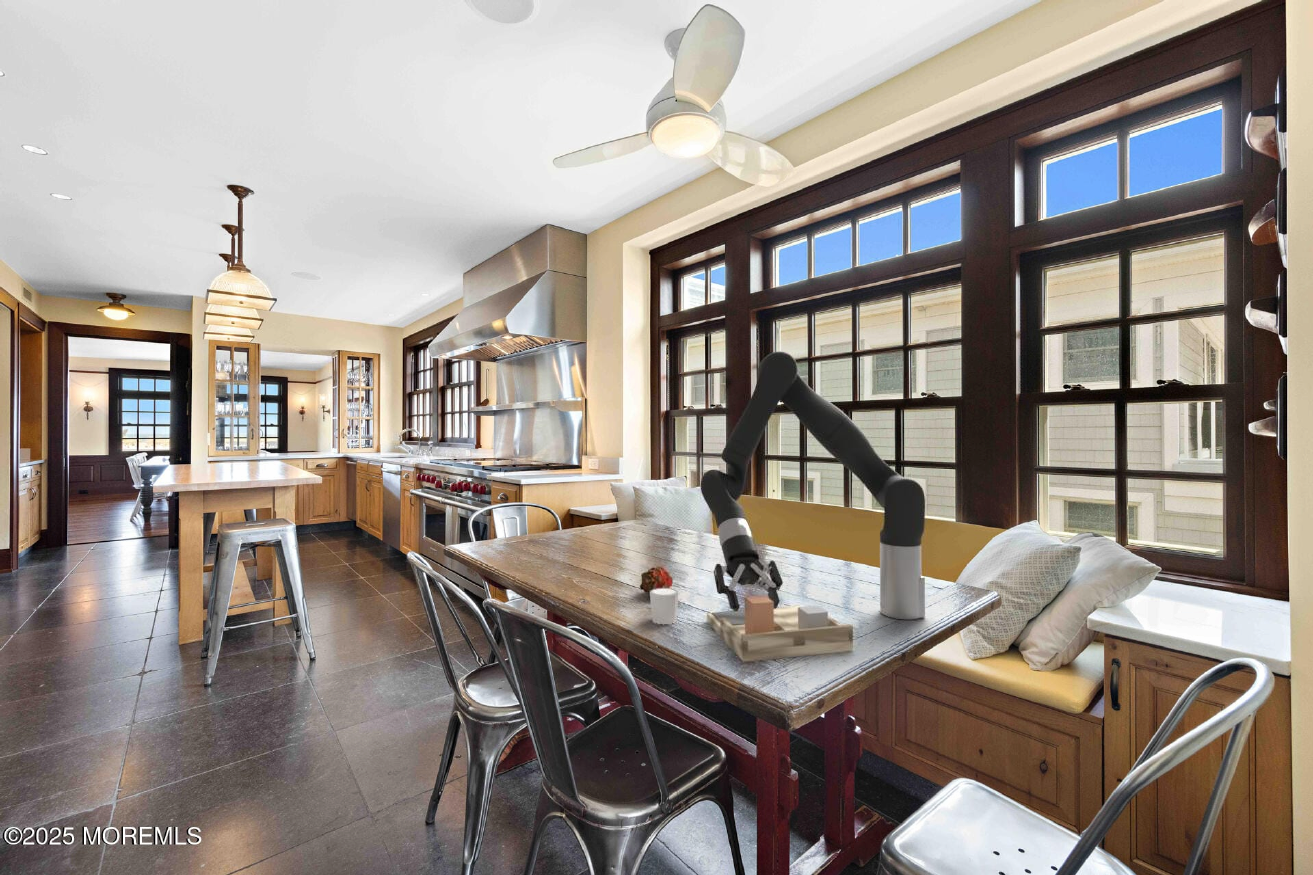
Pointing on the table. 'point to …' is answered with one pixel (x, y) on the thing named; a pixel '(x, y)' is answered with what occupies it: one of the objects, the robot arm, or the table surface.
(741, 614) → the wooden divided tray
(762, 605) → the terracotta block
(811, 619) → the grey block
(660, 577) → the dragon fruit
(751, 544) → the robot arm
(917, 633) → the table surface
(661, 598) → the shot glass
